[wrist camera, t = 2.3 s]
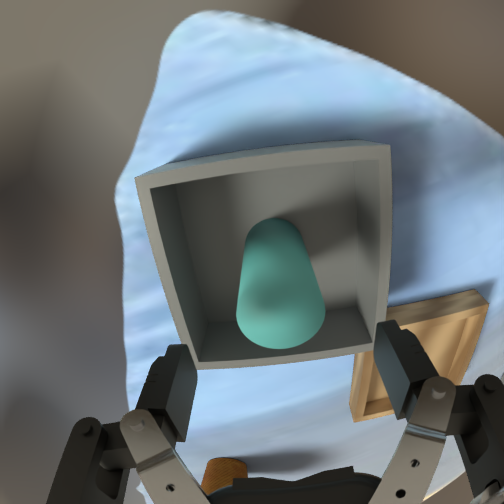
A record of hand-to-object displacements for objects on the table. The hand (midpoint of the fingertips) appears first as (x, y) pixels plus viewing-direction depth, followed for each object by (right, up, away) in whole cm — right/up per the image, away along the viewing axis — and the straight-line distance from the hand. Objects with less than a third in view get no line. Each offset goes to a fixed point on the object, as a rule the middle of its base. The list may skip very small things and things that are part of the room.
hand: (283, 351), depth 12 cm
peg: (0, +5, +11) cm, 12 cm away
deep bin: (0, +5, +12) cm, 13 cm away
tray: (+16, -7, +16) cm, 24 cm away
